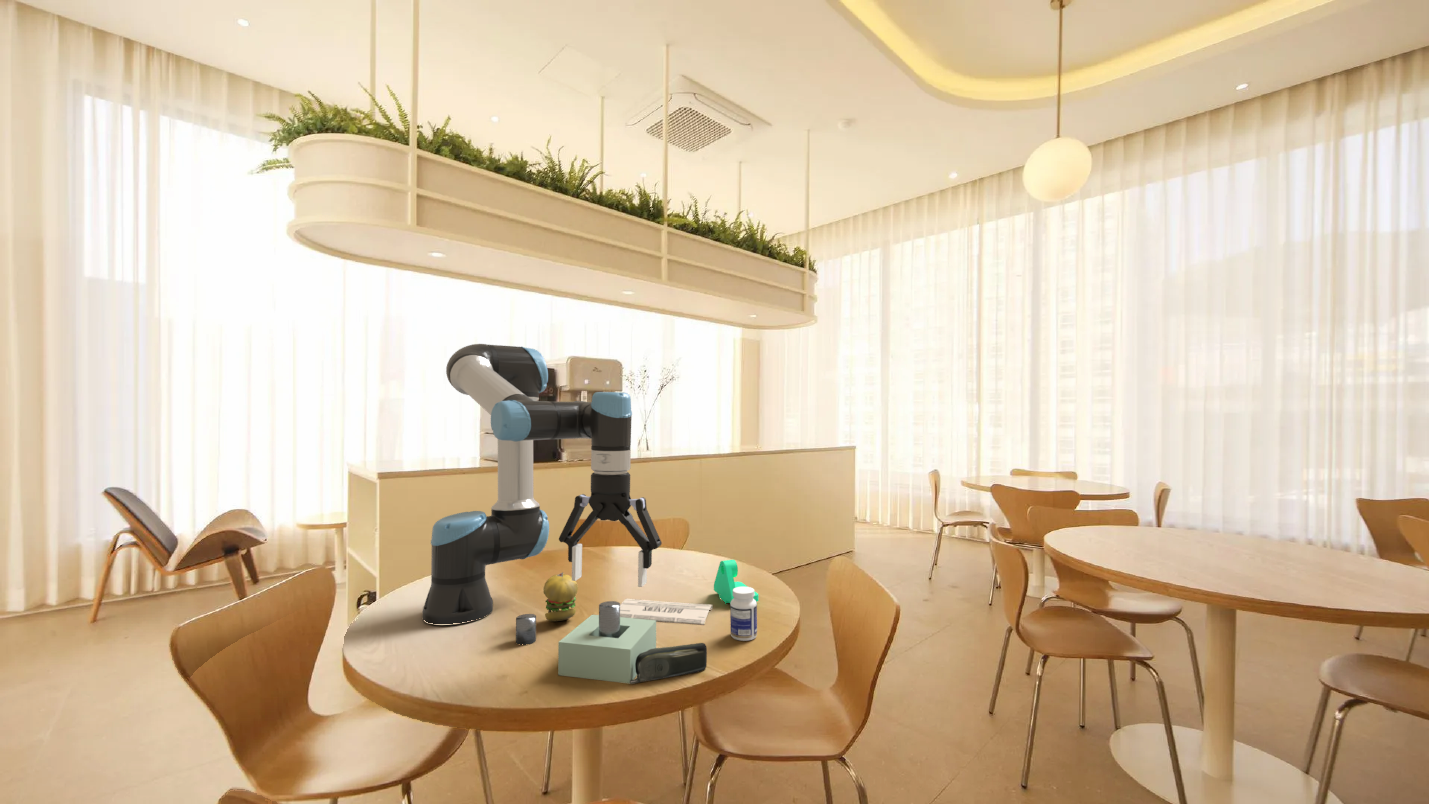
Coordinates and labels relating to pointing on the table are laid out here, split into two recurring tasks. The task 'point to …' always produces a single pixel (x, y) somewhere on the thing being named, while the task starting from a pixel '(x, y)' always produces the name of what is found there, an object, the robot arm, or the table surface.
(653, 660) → the mobile phone
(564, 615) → the hamburger
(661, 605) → the newspaper
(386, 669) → the table surface
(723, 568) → the camera mount
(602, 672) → the guide block
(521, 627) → the short pin
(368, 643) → the table surface
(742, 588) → the pill bottle
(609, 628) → the long pin
